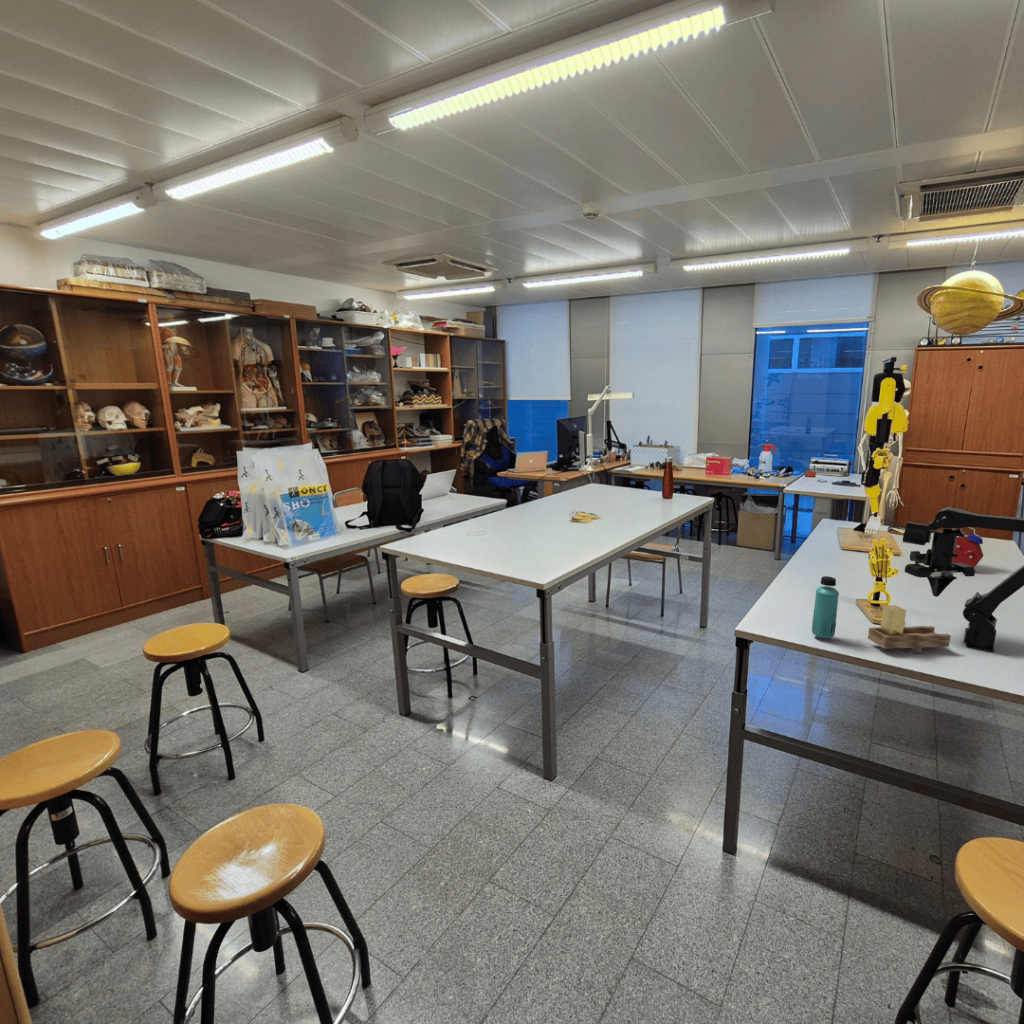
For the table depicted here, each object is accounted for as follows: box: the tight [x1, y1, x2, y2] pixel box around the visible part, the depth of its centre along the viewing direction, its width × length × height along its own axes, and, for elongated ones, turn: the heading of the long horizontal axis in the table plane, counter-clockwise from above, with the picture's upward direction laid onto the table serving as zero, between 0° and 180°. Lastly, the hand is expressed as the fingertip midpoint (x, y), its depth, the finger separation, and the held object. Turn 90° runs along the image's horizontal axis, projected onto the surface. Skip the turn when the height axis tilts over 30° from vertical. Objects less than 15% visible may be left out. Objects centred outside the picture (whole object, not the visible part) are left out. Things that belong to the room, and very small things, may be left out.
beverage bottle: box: [811, 575, 840, 639], centre depth 172 cm, size 6×7×20 cm
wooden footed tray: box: [867, 625, 951, 655], centre depth 166 cm, size 20×7×6 cm, turn 94°
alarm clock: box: [952, 527, 985, 568], centre depth 241 cm, size 15×9×20 cm, turn 35°
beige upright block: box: [879, 604, 907, 636], centre depth 164 cm, size 4×7×9 cm, turn 4°
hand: (935, 596), depth 173 cm, fingers closed
